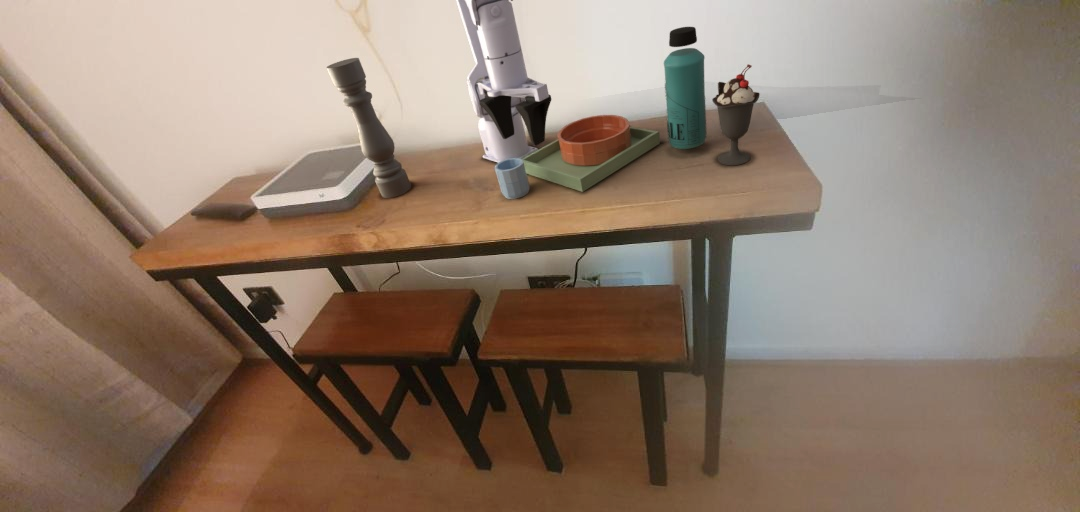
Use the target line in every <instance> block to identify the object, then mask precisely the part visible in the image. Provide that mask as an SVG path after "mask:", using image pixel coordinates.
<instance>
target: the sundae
mask: <svg viewBox="0 0 1080 512" xmlns="http://www.w3.org/2000/svg"><path fill="white" fill-rule="evenodd" d="M752 66H753V65H751V64H746V67H744V69H742V72H741V73H739V74H737V75H736V76H735V78H734V77H733V78H731V79H730V80H728V81H727V82H723V81H719V82H717V90H718V91H717V93H718V94H716V95H715V97H713V98H711V100H712V103H713V104H714V105H715V106H716V108H717V114H718V120H719V127H720V131H721V134H722V135H723V136H724V137H725V138H727V139H729V140H730V148H729V151H727V152H724V153H721V154H720V155H719V156H718V157H717V162H718V163H720V164H721V165H725V166H740V165H741V166H742V165H745V164H746V163H748V162H750V160H751V159H752V158H751V154H749V153H748V152H746V151H742V150H741V151H740V150H739V149H740V148H739V140H740V139H741V138H742V137H744V136H745V135H746V134H747V133H748V131H749V128H750V124H751V119H752V115H753V109H754V106H755V105H754V104H756V103H757V102H758V101H759V99H760V95H761V93H760V92H756V91H754V90H753V89H752V87H750V86H749V85H750V84H749V83H750V82H749V80H747V79H745V75H746V73H747V71H748V70H750V69H751V68H752Z"/></svg>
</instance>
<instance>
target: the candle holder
mask: <svg viewBox="0 0 1080 512" xmlns="http://www.w3.org/2000/svg"><path fill="white" fill-rule="evenodd" d="M326 70H327V73H328V75H329V77H330V80H331V82H332V84H333V86H334V87H335V88H337V91H338V92H340V93H341V94H342V96H344V99H343V102H342V103H343V105H344V106H346V107H347V108H348V109H350V111H351V114H352V117H353V118H354V121H355V124H356V127H357V132H358V138H359V142H360V148H361V152H362V155H363V156H364V157H365V158H366V159H368V160H369V161H370V162H371V164H372V165H374V166H373V172H372V173H373V176H374V177H375V179H374V182H375V184H376V187H377V188H378V192H379V193H380V195H381V197H382V198H386V199H391V198H395V197H399V196H401V195H404V194H406V193H407V192H408V191H410V189H411V187H412V184H411V181H410V178H409V176H408V174H407V171H406V169H404V168H403V166H402V162H400V161H398V160H397V159H396V158H395V154H394V153H395V142H394V140H393V138H392V137H391V135H390V133H389V132H388V131H387V129H386V128H385V126H384V125H383V123H382V122H381V121H380V119H379V118H378V116H377V113H376V111H375V109H374V106H373V104H372V98H373V94H372V92H370V91H368V90H367V86H366V85H367V80H366V77H367V75H366V72H365V70H364V68H363V65H362V62H361V61H360V58H359V57H352V58H347V59H342V60H339V61H336V62H333V63H331V64H329V65H327V66H326Z"/></svg>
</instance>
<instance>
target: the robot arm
mask: <svg viewBox="0 0 1080 512" xmlns="http://www.w3.org/2000/svg"><path fill="white" fill-rule="evenodd" d="M512 2H514V0H455V3H456V5H457V8H458V12H459V14H460V15H459V16H460V18H461V22H462V25H463V27H464V31H465V35H466V38H467V40H468V44H469V47H470V50H471V53H472V56H473V60H474V63H475V65H474V66H473V67H472V69H471V71H470V72H469V73H468V75H467V77H466V85H467V89H468V95H469V99H470V101H471V104H472V108H473V111H474V113H475V116H476V117H478V118H479V119H478V122H477V123H478V125H477V127H478V129H477V130H478V132H479V136H480V140H481V143H482V146H483V151H484V153H485V154H483V155H482V158H483V159H486V160H488V161H491V162H494V163H496V164H497V163H499V162H501V161H503V160H506V159H509V158H521V159H522V158H524V157H526V156H528V155H529V154H531V153H533V152H535V151H537V150H539V149H538V148H537V146H539V145H540V144H542V143H544V142H545V141H546V125H547V124H546V122H547V117H548V113H549V112H548V111H549V108H550V105H551V102H552V95H551V94H550V93H549V88H548V84H547V83H543V82H539V81H537V80H534V79H532V78H530V77H528V73H527V68H526V67H527V66H526V63H525V57H524V54H523V50H522V49H523V48H522V45H521V40H520V34H519V31H518V26H517V22H516V17H515V12H514V7H513V3H512ZM524 124H525V125H524ZM524 126H525V127H526V130H527V133H528V136H529V137H528V138H529V140H530V142H531V144H532V145H533V146H531V145H529V143H528V140H527V135H526V131H525V127H524Z"/></svg>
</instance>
